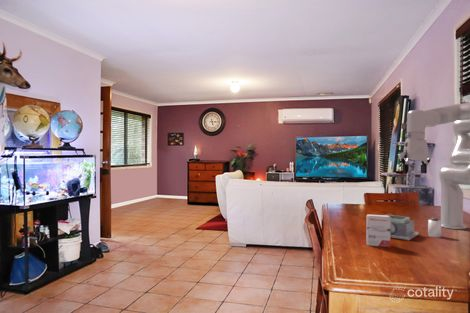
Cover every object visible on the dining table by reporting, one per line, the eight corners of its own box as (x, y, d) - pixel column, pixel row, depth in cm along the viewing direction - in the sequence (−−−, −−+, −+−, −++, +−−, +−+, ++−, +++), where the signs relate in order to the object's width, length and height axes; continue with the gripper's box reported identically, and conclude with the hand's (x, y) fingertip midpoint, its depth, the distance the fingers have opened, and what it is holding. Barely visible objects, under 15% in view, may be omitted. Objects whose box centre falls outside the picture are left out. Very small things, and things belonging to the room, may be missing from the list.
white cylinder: (429, 234, 153) (429, 216, 153) (441, 236, 149) (442, 218, 149) (426, 236, 149) (427, 218, 149) (439, 237, 146) (440, 219, 146)
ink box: (389, 244, 133) (389, 215, 133) (390, 247, 128) (391, 217, 128) (365, 242, 135) (366, 213, 135) (366, 245, 131) (366, 215, 131)
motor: (380, 228, 162) (380, 212, 162) (418, 234, 151) (418, 217, 151) (368, 234, 150) (369, 216, 150) (408, 240, 139) (408, 222, 139)
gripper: (405, 135, 151) (404, 173, 150) (437, 137, 154) (436, 173, 154) (394, 136, 158) (393, 172, 158) (425, 138, 161) (424, 173, 161)
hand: (414, 173), depth 156 cm, fingers open, 9 cm apart
